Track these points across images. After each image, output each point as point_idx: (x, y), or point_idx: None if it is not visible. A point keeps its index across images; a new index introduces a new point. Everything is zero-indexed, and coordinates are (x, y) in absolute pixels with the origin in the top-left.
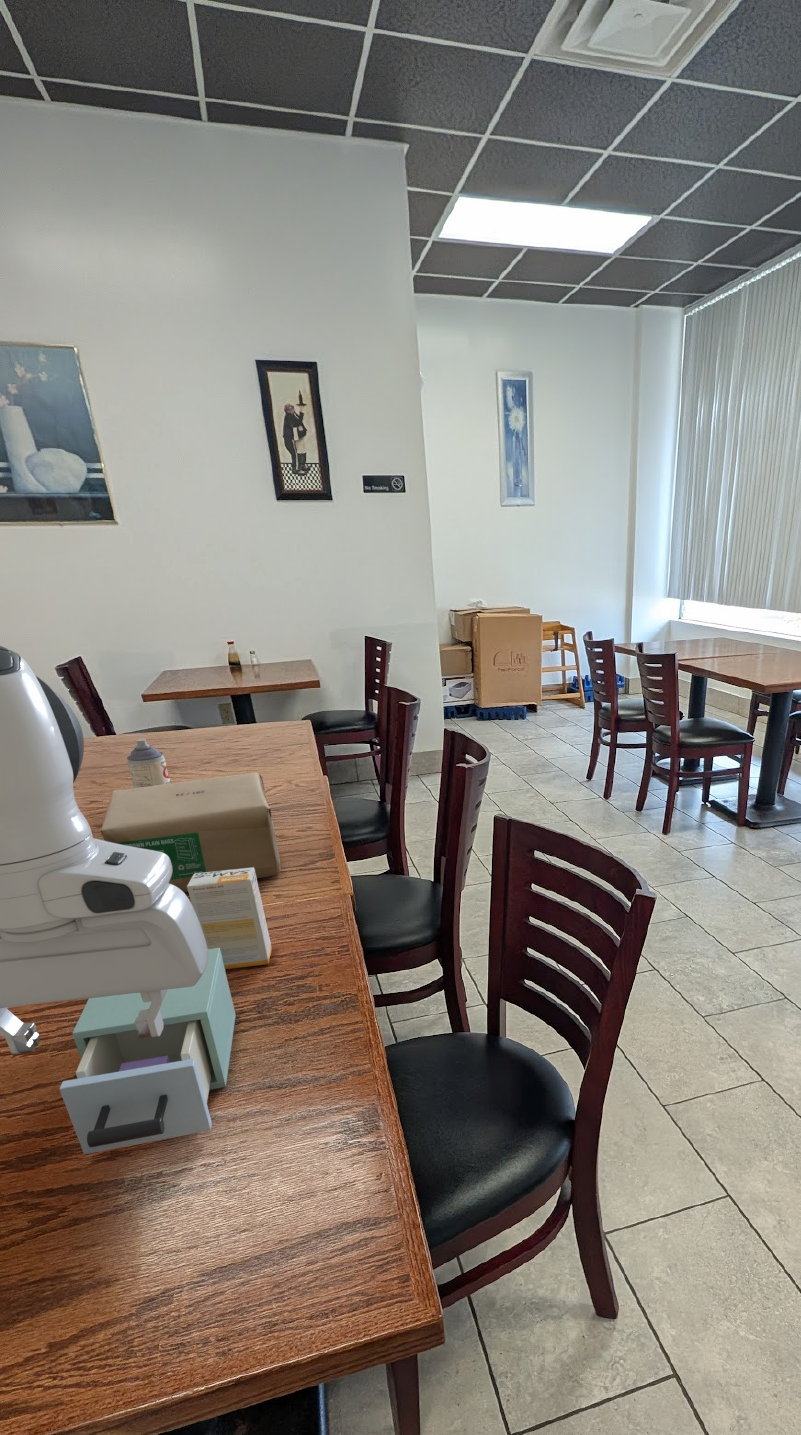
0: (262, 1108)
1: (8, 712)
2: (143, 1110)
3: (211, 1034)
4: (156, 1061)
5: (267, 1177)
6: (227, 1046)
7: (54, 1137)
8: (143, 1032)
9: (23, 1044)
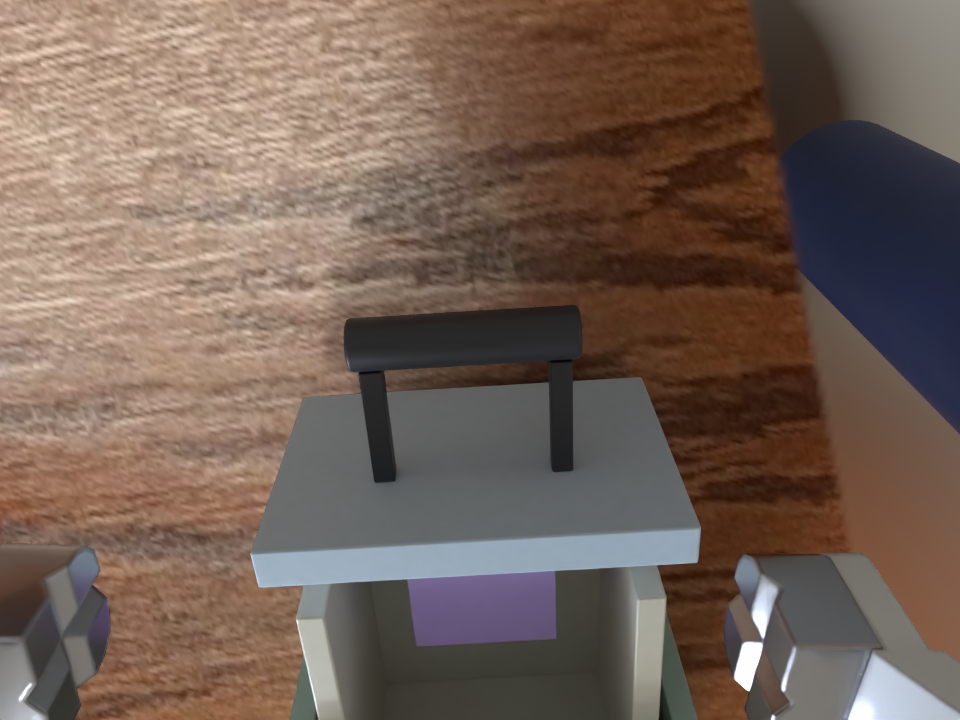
0: (197, 464)
1: None
2: (457, 450)
3: (295, 706)
4: (446, 627)
5: (96, 193)
6: None
7: (740, 468)
8: (26, 569)
9: (798, 590)
